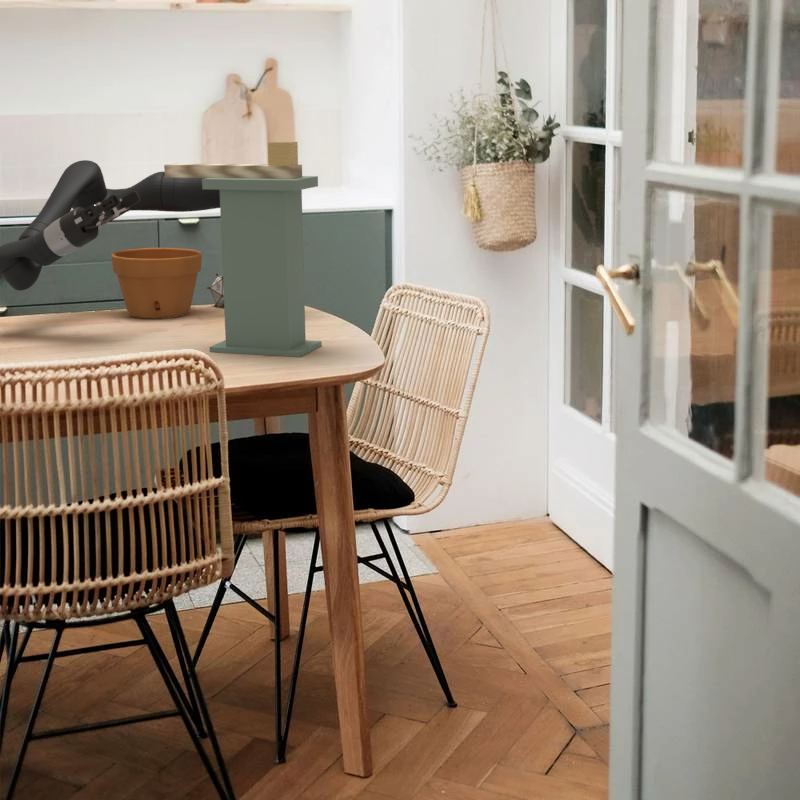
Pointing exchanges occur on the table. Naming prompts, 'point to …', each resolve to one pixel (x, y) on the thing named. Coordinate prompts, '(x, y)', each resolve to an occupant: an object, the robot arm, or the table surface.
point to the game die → (217, 290)
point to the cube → (282, 153)
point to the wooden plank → (233, 171)
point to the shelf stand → (263, 265)
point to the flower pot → (157, 280)
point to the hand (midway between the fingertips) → (128, 196)
